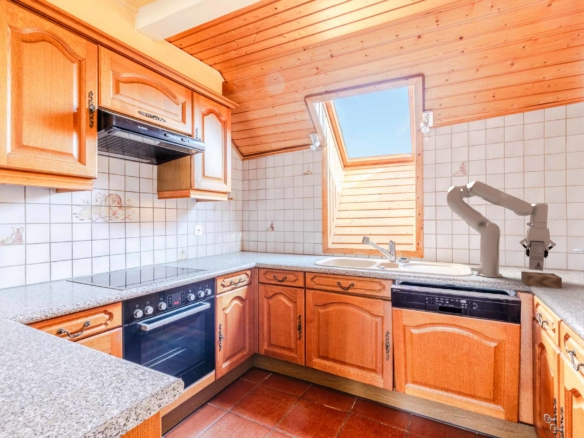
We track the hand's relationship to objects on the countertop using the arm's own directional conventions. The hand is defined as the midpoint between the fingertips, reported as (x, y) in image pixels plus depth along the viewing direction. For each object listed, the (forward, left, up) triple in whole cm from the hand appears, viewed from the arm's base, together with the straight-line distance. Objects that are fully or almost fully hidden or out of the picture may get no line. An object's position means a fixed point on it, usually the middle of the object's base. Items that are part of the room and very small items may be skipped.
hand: (536, 256), depth 172 cm
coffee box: (0, 0, -7) cm, 7 cm away
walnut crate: (-1, -14, -12) cm, 19 cm away
